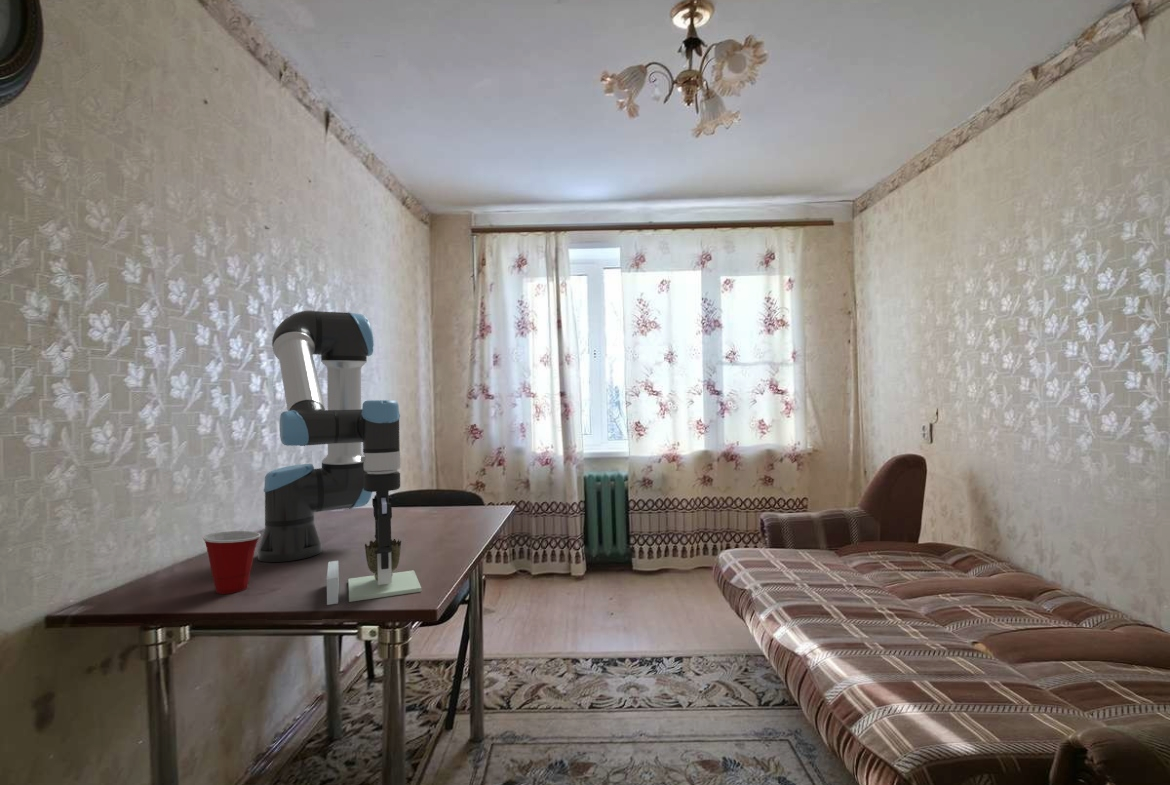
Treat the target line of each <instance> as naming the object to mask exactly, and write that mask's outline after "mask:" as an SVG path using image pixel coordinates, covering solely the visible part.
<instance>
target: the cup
mask: <svg viewBox="0 0 1170 785" xmlns="http://www.w3.org/2000/svg"><path fill="white" fill-rule="evenodd" d="M385 546H388V545H385ZM391 546H392V551H391V569H392V572H394V571H395V570H396V569H397V567H398V566H399V563H400V556H401V548H402V547H401V546H402V540H400V539H397V540H396V539H395V538H393V539H392V538H391ZM364 550H365V558H366V564H367V567H368V569H369V570H370V572H371V573H373V574H374V575H375V576H374V577H375V579H376V580H377V581H378V561H377V554H375V551H378V539H377V540H376V539H375V540H374V541H373V540H370V541H369V545H368V544H367V543H365V544H364ZM392 576H393V574H392Z"/></svg>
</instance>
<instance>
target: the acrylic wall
mask: <svg viewBox="0 0 1170 785" xmlns="http://www.w3.org/2000/svg"><path fill="white" fill-rule="evenodd" d="M326 572H327V574H326V605H327V606H329V605H337V604H339V590H340V589H339V588H340V587H339V578H340V576H339V560H332V561H328V563H327V571H326Z"/></svg>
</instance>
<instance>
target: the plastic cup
mask: <svg viewBox="0 0 1170 785" xmlns="http://www.w3.org/2000/svg"><path fill="white" fill-rule="evenodd" d="M261 537H262V534H261V533H260V532H259V531H257V532H256V531H252V530H251V531H249V530H233V531H229V530H228V531H219V532H213V533H209V534H205V535H204V536H202V538H203V541H204V544H205V547H206V552H207V556H208V560H209V565H210V570H211V577H212V579H213V583H214V589H215V590H216V591H215V592H216V593H217V594H221V595H222V594H223V595H224V594H226V595H227V594H234V593H238V592H241V591H244V590H246V589H247V588H248V586H249V583H250V582H249V580H250V574H251V571H252V567H253V562H254V556H255V550H256V546H257V544H258V540H259V538H261Z"/></svg>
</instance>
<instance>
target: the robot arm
mask: <svg viewBox="0 0 1170 785" xmlns="http://www.w3.org/2000/svg"><path fill="white" fill-rule="evenodd" d="M370 323H371V322H370V321H369V319H368V318H367V316H366V315H363V314H361V313H353V312H338V311H319V310H303V311H301V310H300V311H298V312H296V313H293V314H291V315H290V316H288V317H286V318H285V319H284V320H283V321H282V322H281V323H279V325H278V326H277V328H276V329H275V331H274V332H273V336H272V340H271V341H272V342H271V344H272V351H273V354H274V356H275V357H276V358H277V359H278V361H279V366H280V371H281V379H282V385H283V392H284V397H285V402H286V409H287V410H286V411H282V412H281V413H280V416H279V438H280V441H281V444H283V445H284V446H287V447H289V446H294V447H295V446H296V447H297V446H299V447H306V446H318V445H319V446H320V445H327V454H326V456H325V457H324V458H323V459H322V460H321V467H320V468H315V467H314V465H313V464H312V463H304V464H303V463H302V464H295V465H288V466H285V467H280V468H277V469H273V470H271V471H269V472H267V473H266V474H265V477H264V488H263V493H264V531H263V534H262V535H261V538H260V542H259V544H258V545H259V546H258V547H257V560H258V561H259V562H264V563H281V562H292V561H298V560H303V559H307V558H311V557H314V556H317V555H318V554H320V553H321V552H322V551H323V550H322V549H323V548H322V545H323V544H322V540H321V537H320V536H319V532H318V530H317V527H316V525H315V513H320V512H327V511H336V510H337V511H338V510H346V509H349V510H352V509H355V508H362V507H364V506H366V505H368V503H369V502H370V500H371V502H372V508H373V517H374V526H375V527H374V530H375V532H374V538H375V540H377V539H378V551H375V554H377V561H378V585H381V584H389V583H392V573H393V571H392V569H391V551H392V546H391V539H392V517H393V512H392V511H393V509H392V507H393V504H394V502H393V498H392V496H390V494H389V492H391V491H397V490H399V489H400V488H401V473H400V471H399V470H400V469H401V450H400V447H401V445H400V444H401V443H400V417H401V414H400V408H399V403H398V401H397V400H394V399H388V400H387V399H385V400H384V399H383V400H382V399H379V400H378V399H376V400H375V399H374V400H372V399H371V400H370V399H369V400H365V401H363V403H362V367H363V366H364V365H366V363H367V357H371V356H372V355H373V353H374V345H375V344H374V336H373V335H374V334H373V330H372V325H371V324H370ZM313 355H319V356H320V361H321V363H322V364H323V365H324V366H325V367H326V369H327V372H326V373H327V376H326V378H327V382H326V384H327V391H326V392H327V395H326V396H327V409H326V408H325V403H324V399H323V395H322V391H321V387H320V381H319V379H318V378H319V377H318V373H317V370H316V366H315V365H316V364H315V360H314V356H313ZM362 453H363V454H362ZM373 493H375V494H374V497H373V498H372V495H373ZM371 498H372V499H371ZM385 545H388V546H385Z"/></svg>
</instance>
